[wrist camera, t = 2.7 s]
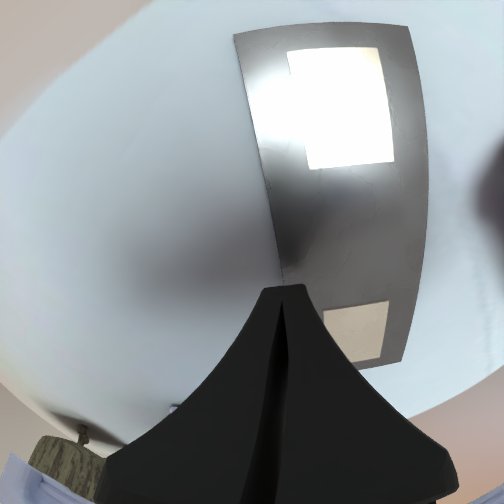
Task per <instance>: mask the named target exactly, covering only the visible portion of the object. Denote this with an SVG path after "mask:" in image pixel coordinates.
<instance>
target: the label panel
mask: <svg viewBox="0 0 504 504" xmlns="http://www.w3.org/2000/svg"><path fill="white" fill-rule="evenodd" d="M233 36H234V41H235V45H236V49H237V53H238V57H239V62H240V66H241V70H242V74H243V79H244V83H245V88H246V92H247V97H248V101H249V106H250V110H251V115H252V120H253V124H254V129H255V134H256V138H257V143H258V148H259V153H260V158H261V163H262V168H263V173H264V178H265V183H266V188H267V193H268V198H269V204H270V209H271V214H272V220H273V225H274V230H275V236H276V241H277V247H278V253H279V258H280V264H281V270H282V276H283V281H284V286H285V285H293V284H301V283H303V284H304V285H305V286H306V288H307V292H308V294H309V297H310V299H311V301H312V303H313V305H314V307H315V309H316V311H317V313H318V315H319V317H320V318H321V320H322V322H323V323H324V325H325V327H326V328H327V330H328V331H329V333H330V334H331V336H332V337H333V339H334V340H335V342H336V343H337V345H338V346H339V347H340V349H341V350H342V351H343V353H344V354H345V355H346V357H347V358H348V359H349V361H350V362H351V363H352V364H353V365H354V367H355V368H356V369H357V370H362V369H367V368H373V367H378V366H383V365H387V364H392V363H396V362H401V360H402V357H403V353H404V350H405V346H406V343H407V339H408V335H409V331H410V327H411V323H412V318H413V314H414V309H415V305H416V300H417V294H418V289H419V283H420V277H421V271H422V264H423V256H424V248H425V238H426V227H427V212H428V144H427V129H426V118H425V109H424V101H423V94H422V88H421V82H420V76H419V71H418V66H417V61H416V56H415V52H414V48H413V44H412V40H411V36H410V32H409V29H408V26H400V25H391V24H380V23H362V22H326V23H308V24H296V25H287V26H279V27H272V28H265V29H259V30H253V31H248V32H243V33H238V34H234V35H233Z"/></svg>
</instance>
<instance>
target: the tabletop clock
mask: <svg viewBox="0 0 504 504" xmlns="http://www.w3.org/2000/svg"><path fill="white" fill-rule="evenodd" d="M77 431H78V433H79V434H80V435H79V439H78V443H75V442H73V441H70V440H66V439H63V438H59V437H53V436H43V437H42V438H41V439H40V440H39V442H38V444H37V445H36V447H35V449H34V451H33V453H32V455H31V457H30V460H29V462H28V464H29V465H30V466H32V467H33V468H35V469H37V470H38V471H40V472H41V473H44V474H46V475H47V476H49V477H51V478H53V479H54V480H56V481H57V482H59V483H61V484H62V485H64V486H66V487H67V488H69V489H70V491H72V492H73V493H75V494H77V495H79V496H81V497H83V498H85V499H86V500H88V501H90V502H92V503H94V504H97V503H95V501H94V500H93V496H94V493H95V490H96V487H97V484H98V481H99V478H100V475H101V472H102V469H103V466H104V464H105V461H106V459H107V458H102V457H100V456H98V455H97V454H95V453H93V452H92V451H90V450H89V449H87V448H85V447H83V446H84V444H88V443H89V439H88V437H87V436H83V435H86V434H87V428H86V427H85V426H84V425H79V426H78V427H77Z"/></svg>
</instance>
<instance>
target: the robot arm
mask: <svg viewBox="0 0 504 504" xmlns="http://www.w3.org/2000/svg"><path fill="white" fill-rule="evenodd" d="M169 412H170V414H169V415H168V416H167V417H166V418H164V419H163V420H162V421H161V422H159V423H158V424H157V425H156V426H154V427H153V428H152V429H151V430H149V431H148V432H146V433H145V434H144V435H142V436H141V437H139V438H138V439H136V440H135V441H133V442H131V443H130V444H128V445H127V446H125V447H123V448H122V449H120V450H119V451H117V452H115V453H113V454H112V455H110V456H108V457H107V459H106V461H105V464H104V466H103V469H102V472H101V475H100V478H99V481H98V484H97V487H96V490H95V493H94V496H93V500H94V501H95V503H97V504H436V500H438V499H441V498H443V497H445V496H447V495H449V494H452V493H454V492H456V491H457V489H458V488H459V483H458V477H457V473H456V470H455V467H454V464H453V462H452V460H451V457H450V455H449V453H448V451H447V450H446V449H445V448H444V447H442V446H441V445H440V444H438V443H437V442H435V441H434V440H433V439H431V438H430V437H429V436H427V435H426V434H425V433H423V432H422V431H421V430H419V429H418V428H417V427H416V426H414V425H413V424H412V423H411V422H409V421H408V420H407V419H406V418H405V417H404V416H403V415H401V414H400V413H399V412H398V411H397V410H396V409H395V408H394V407H393V406H392V405H391V404H389V403H388V402H387V401H386V400H385V399H384V398H383V397H382V396H381V395H380V394H379V393H378V392H377V391H376V390H375V389H374V388H373V387H372V386H371V385H370V384H369V383H368V381H367V380H366V379H365V378H364V377H363V376H362V375H361V374H360V373H359V371H358V370H357V369H356V368H355V367H354V365H353V364H352V363H351V362H350V361H349V359H348V358H347V357H346V355H345V354H344V353H343V351H342V350H341V349H340V347H339V346H338V345H337V343H336V342H335V340H334V339H333V337H332V336H331V334H330V333H329V331H328V330H327V328H326V327H325V325H324V323H323V322H322V320H321V318H320V317H319V315H318V313H317V311H316V309H315V307H314V305H313V303H312V301H311V299H310V297H309V294H308V292H307V288H306V286H305V285H304V284H303V283H301V284H293V285H285V286H277V287H268V288H264V289H263V290H262V291H261V294H260V296H259V298H258V300H257V302H256V304H255V306H254V308H253V310H252V312H251V314H250V316H249V318H248V319H247V321H246V323H245V324H244V326H243V328H242V330H241V331H240V333H239V335H238V336H237V338H236V339H235V341H234V342H233V344H232V345H231V346H230V348H229V349H228V351H227V352H226V354H225V355H224V357H223V358H222V359H221V361H220V362H219V363H218V364H217V366H216V367H215V368H214V369H213V371H212V372H211V373H210V374H209V375H208V377H207V378H206V379H205V380H204V381H203V382H202V383H201V385H200V386H199V387H198V388H197V389H196V390H195V391H194V392H193V393H192V394H191V395H190V396H189V397H188V398H187V399H186V400H185V401H184V402H183V403H182V404H181V405H180V406H179V407H170V410H169ZM0 502H1V503H2V504H94V503H92V502H90V501H88V500H86V499H85V498H83V497H81V496H79V495H77V494H75V493H73V492H72V491H70V489H69V488H67V487H66V486H64V485H62V484H61V483H59V482H57V481H56V480H54V479H53V478H51V477H49V476H47V475H46V474H44V473H41V472H40V471H38V470H37V469H35V468H33V467H32V466H30V465H29V464H28V463H26V462H25V461H23V460H22V459H21V458H19V457H18V456H16V455H15V454H14V453H10V456H9V458H8V460H7V463H6V465H5V468H4V470H3V473H2V475H1V478H0ZM468 504H504V483H503V484H501V485H500V486H498V487H497V488H495V489H493V490H492V491H490V492H488V493H487V494H485V495H483V496H481V497H479V498H477V499H476V500H474V501H472V502H470V503H468Z"/></svg>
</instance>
